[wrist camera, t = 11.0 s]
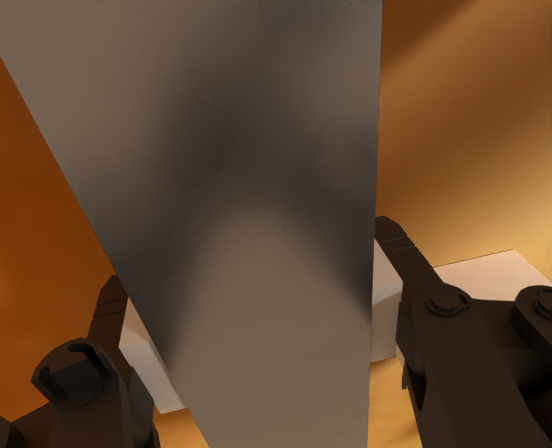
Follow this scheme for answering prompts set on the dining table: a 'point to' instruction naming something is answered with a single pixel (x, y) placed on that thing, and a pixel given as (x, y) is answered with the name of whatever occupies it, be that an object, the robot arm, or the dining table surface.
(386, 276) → the robot arm
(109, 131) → the rail
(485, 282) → the beige u-shaped block
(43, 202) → the dining table surface
